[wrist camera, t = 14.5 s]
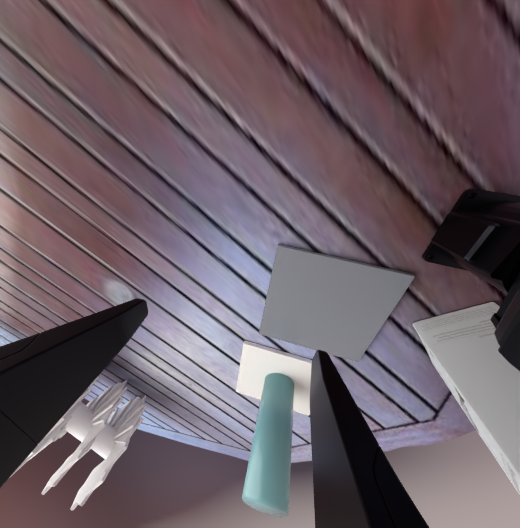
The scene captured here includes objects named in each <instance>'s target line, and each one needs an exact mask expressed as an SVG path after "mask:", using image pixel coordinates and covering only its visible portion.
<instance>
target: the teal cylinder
mask: <svg viewBox="0 0 520 528" xmlns="http://www.w3.org/2000/svg"><path fill="white" fill-rule="evenodd" d="M293 404H294V382H293V380H292V379H291V378H289V377H288V376H286V375H284V374H281V373H270V374H268V375H267V376H266V377H265V380H264V385H263V391H262V396H261V401H260V406H259V411H258V417H257V422H256V427H255V432H254V437H253V443H252V448H251V453H250V458H249V464H248V469H247V474H246V479H245V485H244V490H243V495H242V500H243V501H244V502H245V503H246V504H247V505H249V506H251V507H252V508H254V509H256V510H258V511H261V512H263V513H266V514H269V515H273V516H279V517H286V516H288V509H289V488H290V467H291V466H290V465H291V446H292V425H293Z"/></svg>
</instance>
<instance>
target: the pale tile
mask: <svg viewBox="0 0 520 528" xmlns="http://www.w3.org/2000/svg"><path fill="white" fill-rule="evenodd" d="M311 365H312V360H310V359H307V358H303V357H300V356H297V355H293V354H290V353H286V352H283V351H280V350H276V349H273V348H269V347H266V346H262V345H259V344H256V343H252V342H249V341H244V344H243V350H242V356H241V362H240V369H239V375H238V381H237V387H236V392H239V393H242V394H245V395H248V396H251V397H254V398H257V399H260V400H261V396H262V391H263V385H264V380H265V377H266V376H267V375H268V374H270V373H281V374H284V375H286V376H288V377H289V378H291V379H292V380H293V382H294V404H293V411H296V412H299V413H302V414H305V415H308V416H309V414H310V382H311Z"/></svg>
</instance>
